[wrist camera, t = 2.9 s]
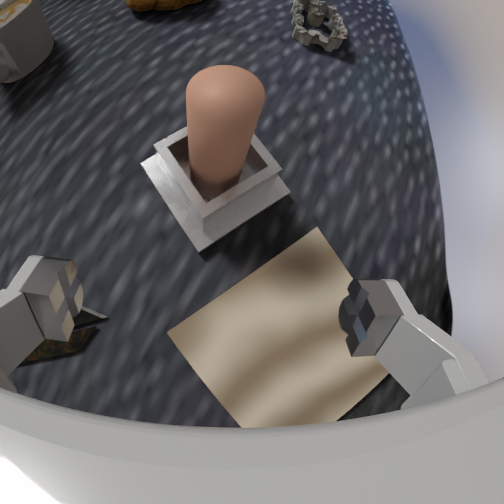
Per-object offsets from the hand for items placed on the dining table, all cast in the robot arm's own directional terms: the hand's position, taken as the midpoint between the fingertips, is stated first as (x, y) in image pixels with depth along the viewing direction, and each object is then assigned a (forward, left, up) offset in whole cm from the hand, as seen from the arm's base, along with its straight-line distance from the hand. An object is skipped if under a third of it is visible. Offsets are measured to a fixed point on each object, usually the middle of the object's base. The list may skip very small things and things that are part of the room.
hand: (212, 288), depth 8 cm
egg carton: (+23, -32, -18) cm, 43 cm away
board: (-8, -4, -18) cm, 20 cm away
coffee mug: (+42, +6, -18) cm, 46 cm away
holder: (+9, -7, -18) cm, 21 cm away
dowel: (+9, -7, -17) cm, 20 cm away
